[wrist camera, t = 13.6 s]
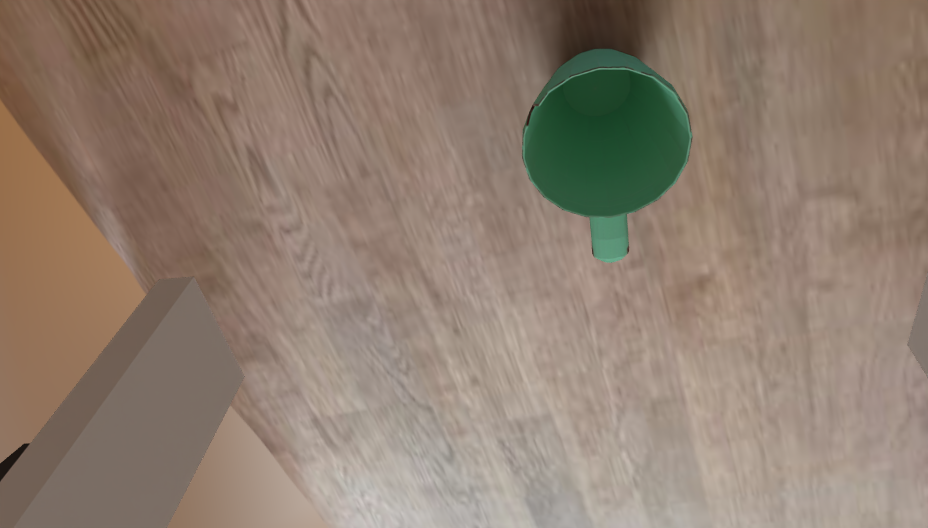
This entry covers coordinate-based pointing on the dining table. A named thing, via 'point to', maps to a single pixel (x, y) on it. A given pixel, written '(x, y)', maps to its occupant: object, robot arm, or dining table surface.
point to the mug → (606, 142)
